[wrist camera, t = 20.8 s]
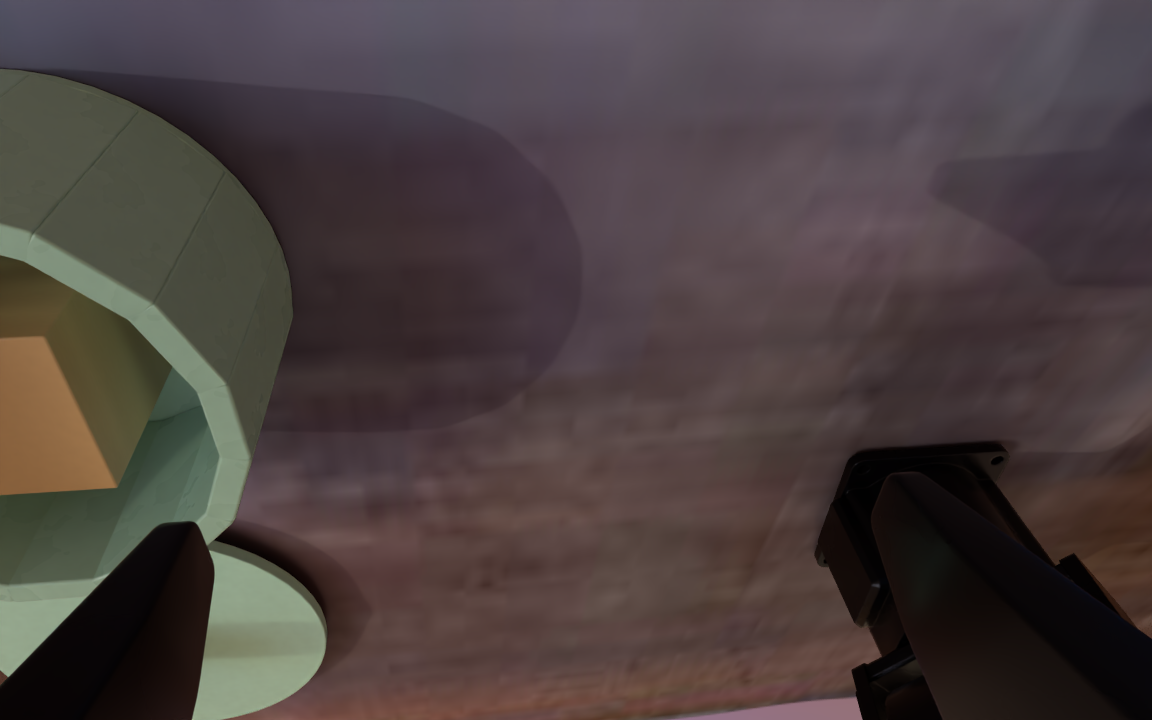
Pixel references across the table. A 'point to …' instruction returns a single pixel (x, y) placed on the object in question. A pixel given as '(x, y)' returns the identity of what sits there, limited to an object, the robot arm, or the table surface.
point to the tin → (140, 316)
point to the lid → (216, 634)
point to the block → (68, 386)
